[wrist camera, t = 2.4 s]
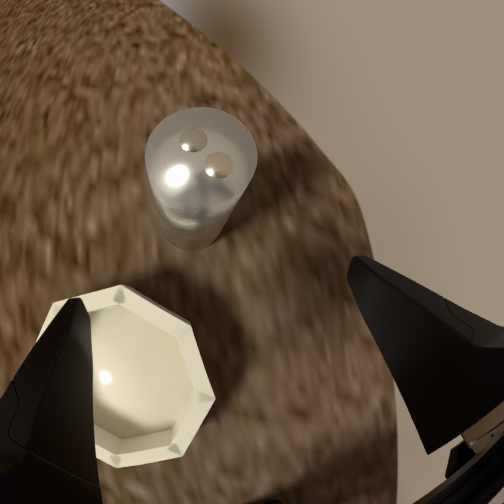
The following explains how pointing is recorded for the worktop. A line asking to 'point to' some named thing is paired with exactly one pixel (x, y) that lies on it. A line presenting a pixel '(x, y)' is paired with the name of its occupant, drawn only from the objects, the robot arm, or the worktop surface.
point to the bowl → (142, 378)
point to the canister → (198, 173)
